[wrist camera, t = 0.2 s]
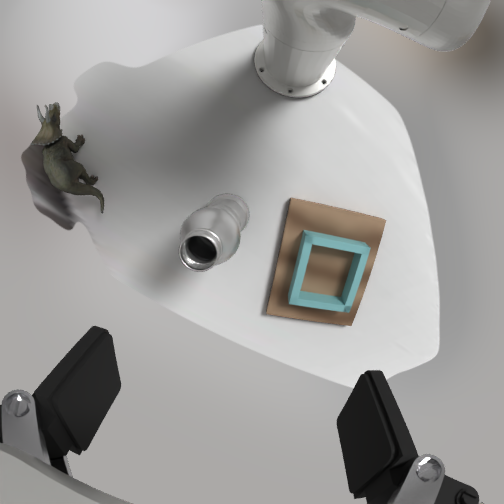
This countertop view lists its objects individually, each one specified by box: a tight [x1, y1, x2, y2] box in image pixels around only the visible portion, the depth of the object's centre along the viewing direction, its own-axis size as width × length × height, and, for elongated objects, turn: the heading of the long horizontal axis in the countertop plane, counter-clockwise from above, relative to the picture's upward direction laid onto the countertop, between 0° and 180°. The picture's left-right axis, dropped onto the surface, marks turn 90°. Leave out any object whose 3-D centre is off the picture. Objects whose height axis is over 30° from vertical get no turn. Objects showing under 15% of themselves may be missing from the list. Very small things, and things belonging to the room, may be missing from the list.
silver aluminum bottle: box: [179, 194, 250, 272], centre depth 33 cm, size 6×7×20 cm
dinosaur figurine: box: [31, 103, 104, 214], centre depth 36 cm, size 22×8×11 cm, turn 21°
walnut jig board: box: [266, 198, 386, 326], centre depth 43 cm, size 20×16×4 cm
